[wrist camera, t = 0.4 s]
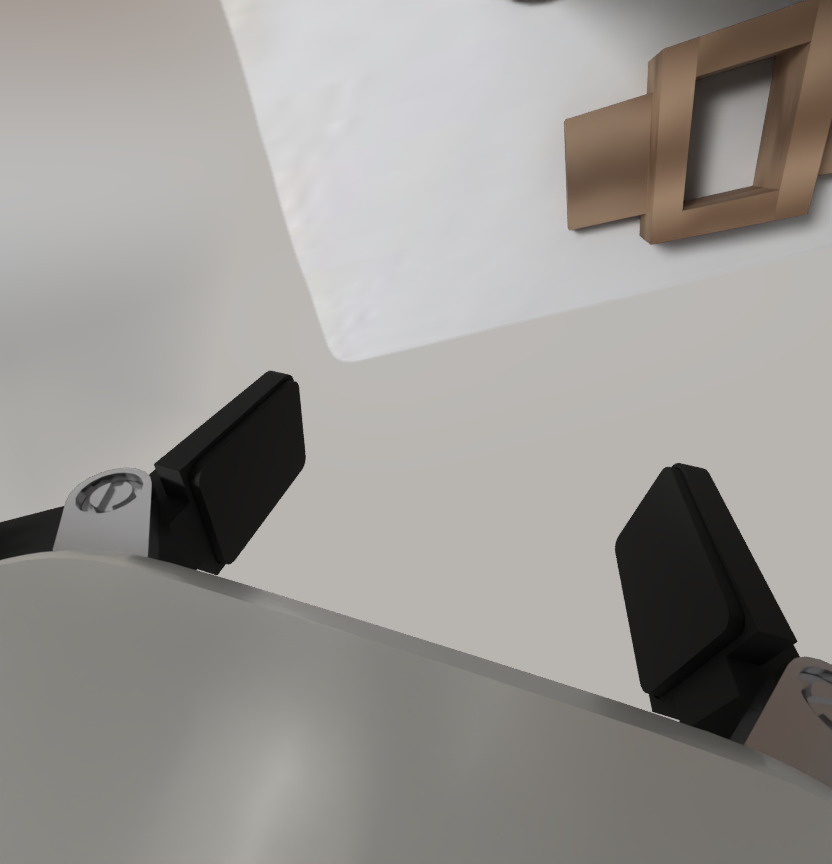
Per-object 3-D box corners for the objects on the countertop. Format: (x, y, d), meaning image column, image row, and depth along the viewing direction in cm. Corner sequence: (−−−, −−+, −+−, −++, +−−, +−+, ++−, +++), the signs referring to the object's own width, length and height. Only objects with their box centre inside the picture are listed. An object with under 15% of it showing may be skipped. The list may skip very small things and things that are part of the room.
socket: (563, 90, 31) (565, 82, 28) (948, -39, 24) (1020, -73, 20) (568, 250, 37) (571, 260, 34) (876, 187, 30) (921, 191, 26)
